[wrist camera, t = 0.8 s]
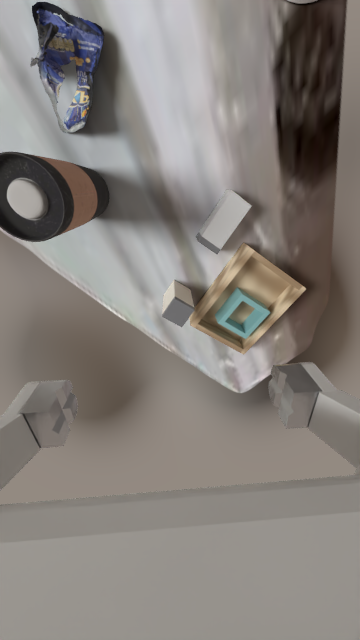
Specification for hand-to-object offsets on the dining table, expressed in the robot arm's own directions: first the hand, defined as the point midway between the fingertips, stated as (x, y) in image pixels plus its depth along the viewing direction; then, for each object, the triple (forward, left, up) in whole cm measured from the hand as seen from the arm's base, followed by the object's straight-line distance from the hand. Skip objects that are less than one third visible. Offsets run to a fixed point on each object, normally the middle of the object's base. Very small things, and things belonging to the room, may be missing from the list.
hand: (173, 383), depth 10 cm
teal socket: (+5, +21, -38) cm, 43 cm away
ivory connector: (+9, +8, -38) cm, 40 cm away
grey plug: (-7, +7, -38) cm, 39 cm away
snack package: (-10, -22, -38) cm, 45 cm away
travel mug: (+2, -14, -38) cm, 41 cm away
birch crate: (+3, +20, -38) cm, 43 cm away
